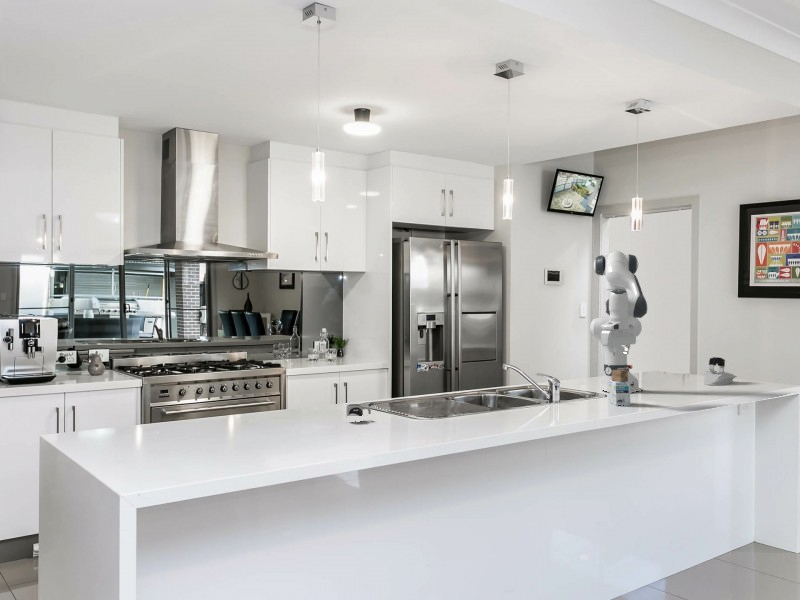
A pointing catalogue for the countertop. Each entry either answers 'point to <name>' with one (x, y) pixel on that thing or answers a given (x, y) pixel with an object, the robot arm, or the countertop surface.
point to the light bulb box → (620, 393)
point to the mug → (356, 409)
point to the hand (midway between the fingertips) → (619, 355)
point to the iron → (717, 373)
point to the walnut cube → (620, 375)
